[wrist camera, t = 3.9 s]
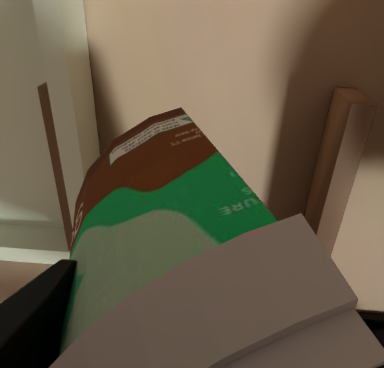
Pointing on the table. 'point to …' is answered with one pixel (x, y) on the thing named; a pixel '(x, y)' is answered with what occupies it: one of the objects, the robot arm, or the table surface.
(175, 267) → the food container
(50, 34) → the tray
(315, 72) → the table surface
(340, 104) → the wooden pieces
